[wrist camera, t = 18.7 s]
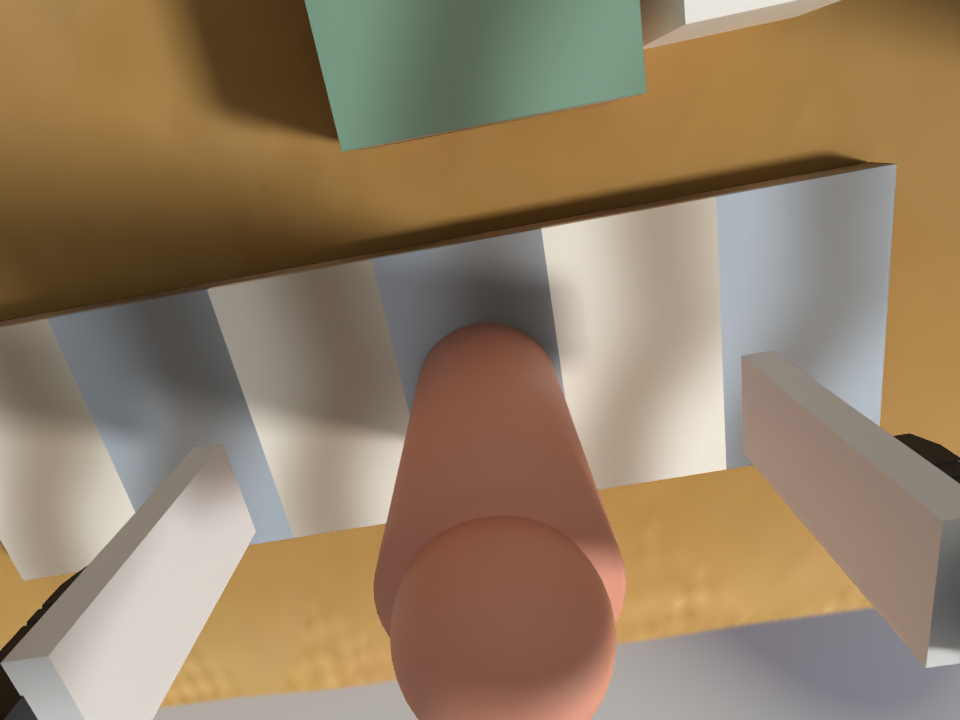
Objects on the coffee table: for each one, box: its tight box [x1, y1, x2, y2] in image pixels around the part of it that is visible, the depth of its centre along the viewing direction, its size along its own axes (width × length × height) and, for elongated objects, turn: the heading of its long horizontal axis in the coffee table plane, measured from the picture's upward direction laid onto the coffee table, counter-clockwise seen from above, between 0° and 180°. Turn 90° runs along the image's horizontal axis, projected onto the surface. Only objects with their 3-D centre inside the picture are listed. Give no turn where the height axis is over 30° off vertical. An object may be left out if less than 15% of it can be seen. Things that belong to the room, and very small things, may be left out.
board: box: [0, 162, 897, 581], centre depth 19 cm, size 30×9×1 cm, turn 100°
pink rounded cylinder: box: [374, 323, 626, 720], centre depth 13 cm, size 4×4×12 cm
